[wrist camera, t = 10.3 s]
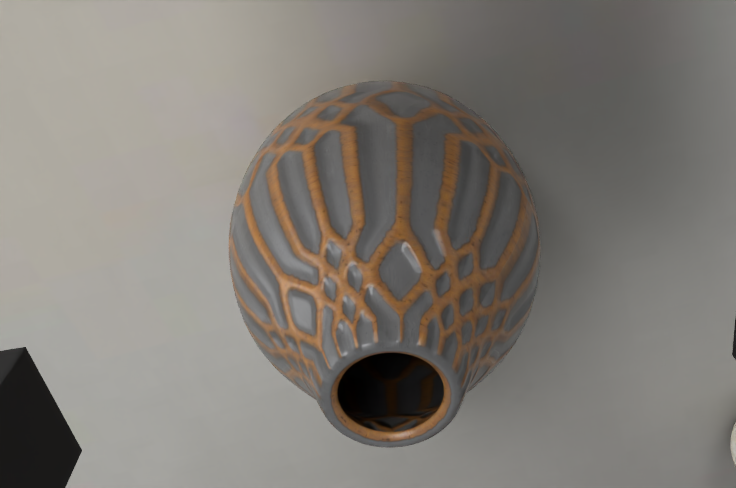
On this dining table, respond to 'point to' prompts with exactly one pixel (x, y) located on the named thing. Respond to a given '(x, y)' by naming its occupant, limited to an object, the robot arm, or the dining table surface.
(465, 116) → the vase
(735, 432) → the egg
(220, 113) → the dining table surface
